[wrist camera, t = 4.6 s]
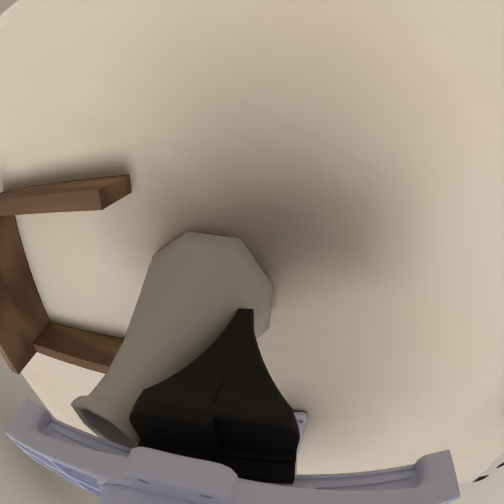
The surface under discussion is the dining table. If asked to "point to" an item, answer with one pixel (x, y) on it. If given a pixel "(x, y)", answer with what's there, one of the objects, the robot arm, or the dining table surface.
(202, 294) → the flask
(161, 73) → the dining table surface
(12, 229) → the shelf bay
